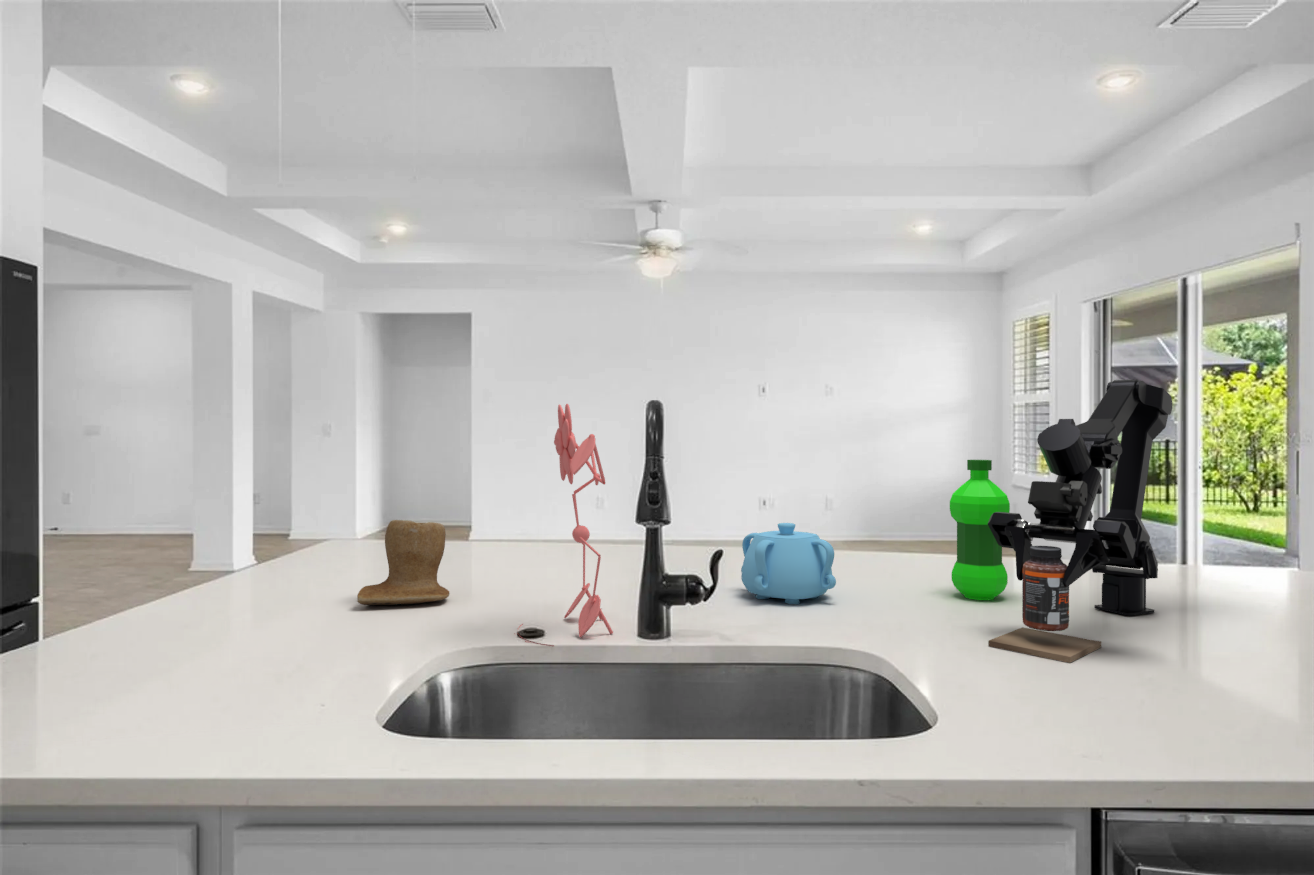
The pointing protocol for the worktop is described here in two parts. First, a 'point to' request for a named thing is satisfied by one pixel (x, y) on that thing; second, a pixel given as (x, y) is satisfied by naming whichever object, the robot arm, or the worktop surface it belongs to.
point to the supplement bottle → (1045, 590)
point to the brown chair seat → (409, 565)
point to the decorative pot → (787, 564)
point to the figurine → (570, 466)
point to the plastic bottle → (978, 535)
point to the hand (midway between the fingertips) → (1041, 581)
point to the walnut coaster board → (1045, 644)
